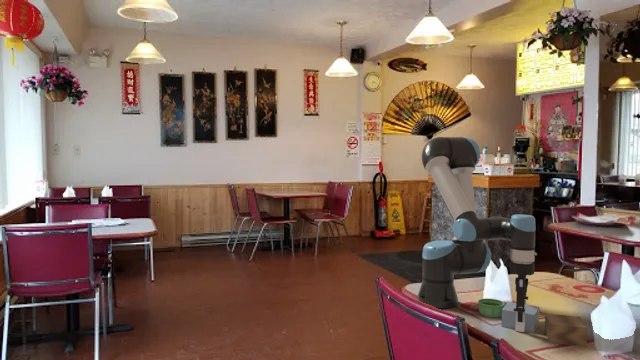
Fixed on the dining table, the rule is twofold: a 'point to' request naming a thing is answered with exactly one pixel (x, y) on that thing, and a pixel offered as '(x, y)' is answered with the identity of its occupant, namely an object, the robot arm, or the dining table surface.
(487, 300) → the ramekin
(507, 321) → the slate-grey block
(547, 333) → the walnut base block
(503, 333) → the dining table surface
